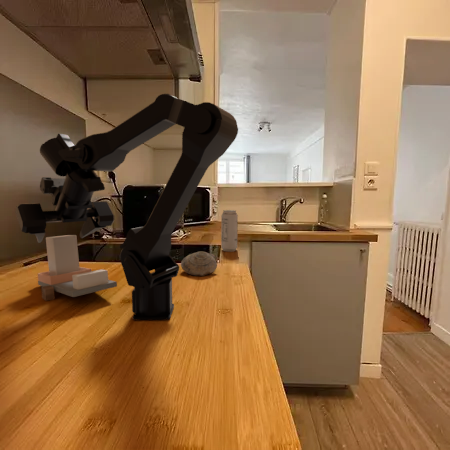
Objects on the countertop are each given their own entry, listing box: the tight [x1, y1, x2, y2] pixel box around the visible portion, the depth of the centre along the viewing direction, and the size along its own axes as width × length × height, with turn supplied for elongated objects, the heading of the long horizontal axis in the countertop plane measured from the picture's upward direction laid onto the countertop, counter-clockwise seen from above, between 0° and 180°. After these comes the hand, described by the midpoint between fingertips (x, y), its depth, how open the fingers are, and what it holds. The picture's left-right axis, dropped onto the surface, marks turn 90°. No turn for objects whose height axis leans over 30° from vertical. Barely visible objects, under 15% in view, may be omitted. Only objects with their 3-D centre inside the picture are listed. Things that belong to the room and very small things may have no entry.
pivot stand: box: [40, 285, 56, 302], centre depth 67 cm, size 2×13×2 cm, turn 137°
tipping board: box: [37, 266, 118, 298], centre depth 67 cm, size 21×9×4 cm, turn 47°
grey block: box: [45, 234, 81, 276], centre depth 71 cm, size 5×5×10 cm
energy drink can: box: [220, 209, 239, 253], centre depth 114 cm, size 6×6×15 cm
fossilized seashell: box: [180, 251, 218, 277], centre depth 86 cm, size 11×11×7 cm
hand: (60, 238), depth 71 cm, fingers open, 9 cm apart
